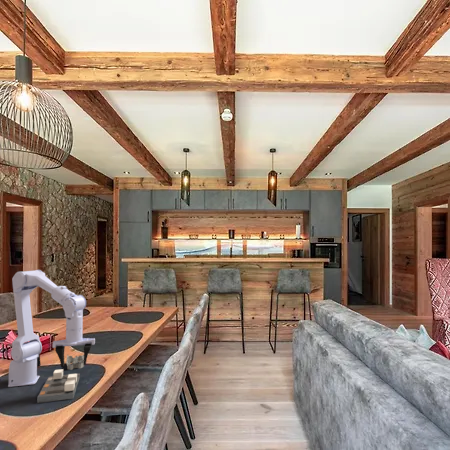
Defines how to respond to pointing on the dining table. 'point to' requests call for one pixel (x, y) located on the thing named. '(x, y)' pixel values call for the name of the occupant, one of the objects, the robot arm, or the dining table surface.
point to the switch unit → (56, 390)
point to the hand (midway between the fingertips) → (73, 365)
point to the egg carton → (75, 362)
